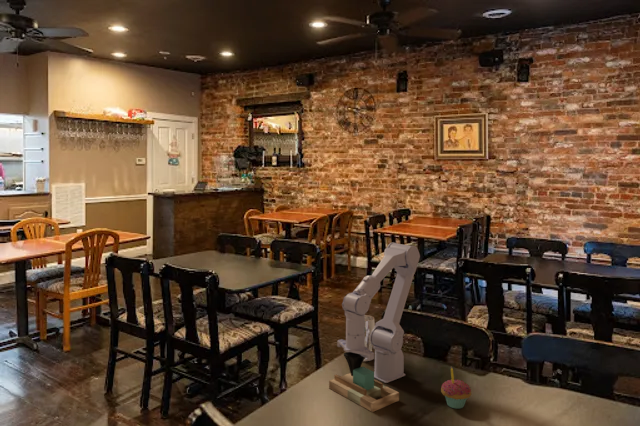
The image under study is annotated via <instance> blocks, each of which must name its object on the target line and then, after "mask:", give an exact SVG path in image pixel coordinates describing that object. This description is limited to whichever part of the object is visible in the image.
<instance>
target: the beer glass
mask: <svg viewBox="0 0 640 426" xmlns="http://www.w3.org/2000/svg"><path fill="white" fill-rule="evenodd" d="M375 324H376V322H375V317H374V316H373V315H368V314H365V345H364V346H365V347H367V348H368V349H369V350H370V351H371V352H373V345H372V344H371V342H370V334H371V332H372V330H373V329H374V327H375ZM372 361H373V360H370V361H369V360H367V358H365V359H364V360H363V362H364V363H367V362H372ZM363 362H362V363H363Z"/></svg>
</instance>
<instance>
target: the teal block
mask: <svg viewBox="0 0 640 426" xmlns="http://www.w3.org/2000/svg"><path fill="white" fill-rule="evenodd" d="M374 372H375V371H373V370H371V369H369V368H367V367H365V366H361V367H360V368H357V369H354V370H353V383H354V384H356V385H358V386H360V387H362V388H364V389H366V390H369V389H372V388H374V379H375V378H374Z"/></svg>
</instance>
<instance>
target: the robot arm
mask: <svg viewBox="0 0 640 426" xmlns="http://www.w3.org/2000/svg"><path fill="white" fill-rule="evenodd" d="M420 258H421V254H420V252H419V249H418V247H417V246H416V245H409V244H401V243H397V242H395V241H393V242H390V243H389V244H388V245H387V247H386V248H384V252H383V257H382V258H381V260H380V262H379V263H378V265H377V266H376V268H375V269H374V271H373V272H372V274H371V275H365V276H364V277H363V278H362V280H361V281H360V283H359V284H358V285H357V286H356V288H355V289H354V290H353V291H352V292H349V293H347V294H346V295H345V296H344V297H343V300H342V303H341V307H342V310H343V311H344V316H345V339H342V338H341V339H338V340H337V341H336V343H337V345H336V346H337V348H342V349H343V351H344V353H343V356H344V358H345V360H346V362H347V365H348V369H349V373H351V376H353V370H354V369H357V368H360V367H362V364H363V360H364V359H365V358H367V360H369V362H371V361H370V360H372V361H373V360H374V371H373V372H374V379H375V380H377V381H379V382H381V383H383V384H388V383H390V382H393V381H395V380H397V379H401V378H402V377H406V373H404V372H405V371H404V361H405V360H404V359H405V357H404V352H403V350H402V347H403V344H404V334H405V331H404V329H403V328H402V326H401V325H400V323H401V319H402V315H403V312H404V310H405V306H406V301H407V300H408V299H407V298H408V296H409V292H410V289H411V285H412V282H413V280H414V275H415V273H416V272H417V269H418V265H419V261H420ZM393 269H395V271H396V277H395V279H394V282H393V283H394V284H393V286H392V289H391V293H390V296H389V299H388V302H387V305H386V308H385V312H384V314H383V317H382V319H379V320H378V321H376V322H375V327H374V329H373V330H372V332H371V334H370V342H371V344H372V350H374V352H373V351H372V352H371V351H370V350H369V349H368V348H367V347H365V346H364V345H365V315H366V314H367V312H368V311H369V309H370V305H371V303H372V299H373V298H374V296H375V295H376V294H377V293H378V291H379V290H380V289H381V282H382V281H383V279H385V277H386V276H387V275H388V274H389V273H390V272H391V271H392V270H393Z"/></svg>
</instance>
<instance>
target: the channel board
mask: <svg viewBox="0 0 640 426" xmlns="http://www.w3.org/2000/svg"><path fill="white" fill-rule="evenodd" d="M333 377H334V378H333V379H330V380H329V381H328V385H329V386H328V388H329V390H332V391H333V392H336V394H339V395H341V396H342V397H344V398H346V399H348V400H350V401H352V402H353V403H355V404H357V405H358V406H360V407H362V408H365V410H368V411H370V412H371V413H374V412H375V411H378V410H381V409H384V408H385V407H388V406H390V405H392V404H394V403H396V402H399V401H400V392H399V391H397V390H395V389H393V388H390V387H389V386H387V385H384V382H382V381H380V380H378V379H376V378H374V388H372V389H369V390H366V389H364V388H362V387H360V386H358V385H356V384H354V383H353V376H351V373H350V372H349V373H347V374H346V373H345V374H344V375H341V376H340V375H339V374H334V375H333Z"/></svg>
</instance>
